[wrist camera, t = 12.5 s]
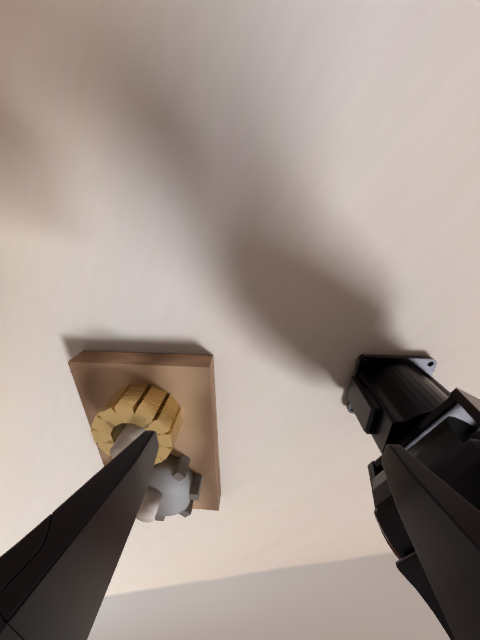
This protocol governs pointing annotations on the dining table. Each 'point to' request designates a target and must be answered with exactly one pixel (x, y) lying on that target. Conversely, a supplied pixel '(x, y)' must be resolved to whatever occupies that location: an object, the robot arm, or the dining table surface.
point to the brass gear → (139, 417)
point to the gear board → (175, 383)
